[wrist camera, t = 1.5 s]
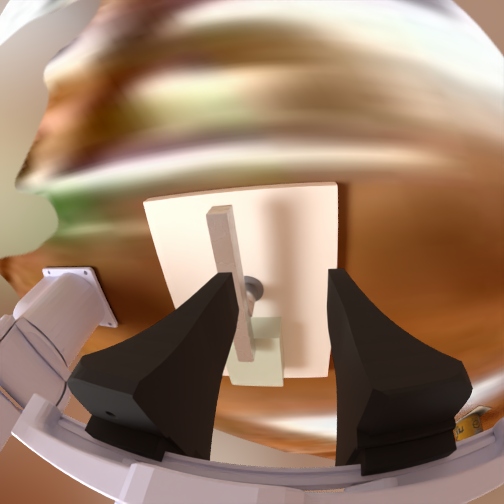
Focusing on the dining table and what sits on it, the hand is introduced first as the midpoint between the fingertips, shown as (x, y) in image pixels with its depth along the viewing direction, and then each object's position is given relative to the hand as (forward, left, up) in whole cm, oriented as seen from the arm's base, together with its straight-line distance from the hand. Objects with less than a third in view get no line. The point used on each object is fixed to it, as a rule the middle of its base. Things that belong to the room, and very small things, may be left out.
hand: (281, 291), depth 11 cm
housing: (-4, -8, -9) cm, 13 cm away
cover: (-4, -12, -8) cm, 15 cm away
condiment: (+36, -43, -10) cm, 57 cm away
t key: (-4, -4, -8) cm, 10 cm away
